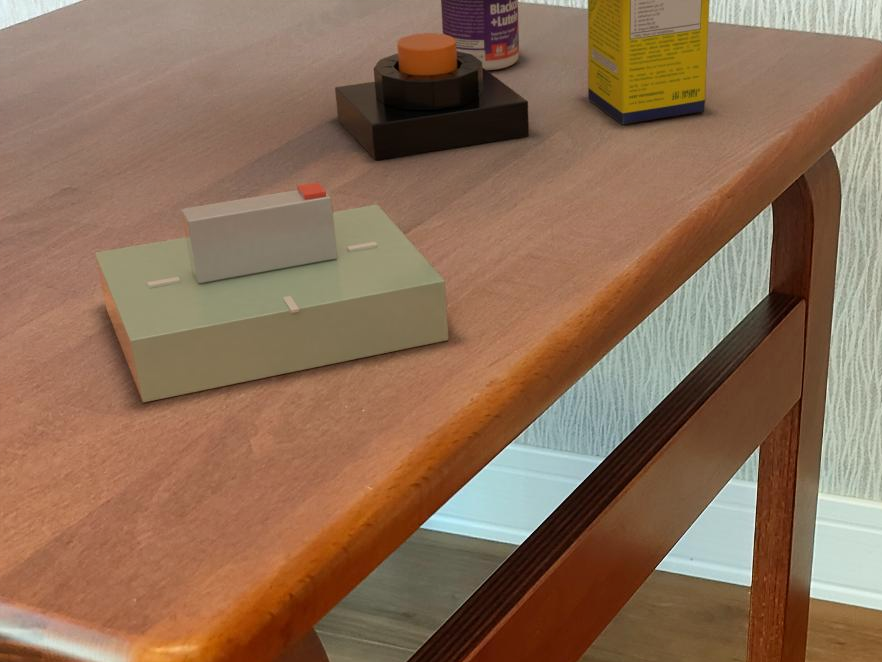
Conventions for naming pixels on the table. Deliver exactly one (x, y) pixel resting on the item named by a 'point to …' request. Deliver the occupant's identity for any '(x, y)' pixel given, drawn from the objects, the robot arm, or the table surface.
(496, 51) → the pill bottle
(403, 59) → the button
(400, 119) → the button block
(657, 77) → the supplement box
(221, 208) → the red-button grey box
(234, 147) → the table surface
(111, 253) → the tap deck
